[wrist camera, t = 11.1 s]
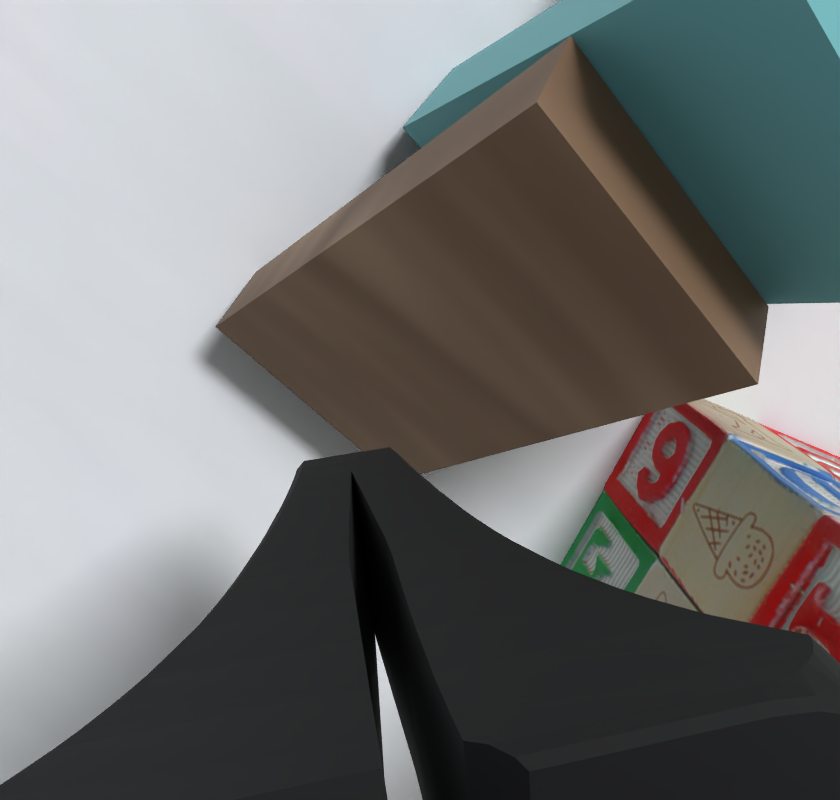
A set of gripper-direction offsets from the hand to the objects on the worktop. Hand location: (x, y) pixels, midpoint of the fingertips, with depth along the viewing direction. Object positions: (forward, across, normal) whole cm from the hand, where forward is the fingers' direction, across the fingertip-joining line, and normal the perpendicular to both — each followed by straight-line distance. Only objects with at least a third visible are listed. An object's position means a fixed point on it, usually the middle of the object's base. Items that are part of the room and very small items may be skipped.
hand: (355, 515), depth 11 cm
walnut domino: (+5, 0, 0) cm, 5 cm away
